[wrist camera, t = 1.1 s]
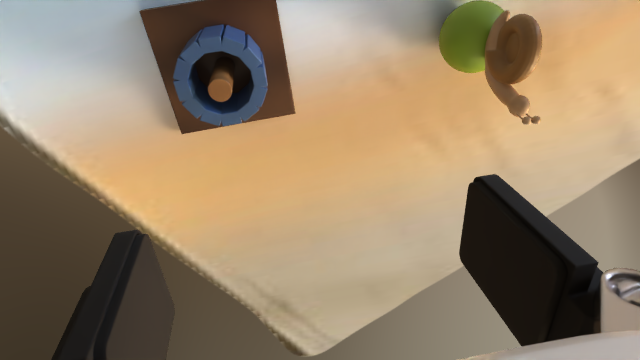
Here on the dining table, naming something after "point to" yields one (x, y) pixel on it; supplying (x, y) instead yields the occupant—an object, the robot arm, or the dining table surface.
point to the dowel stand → (221, 53)
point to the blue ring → (197, 92)
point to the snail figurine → (493, 49)
